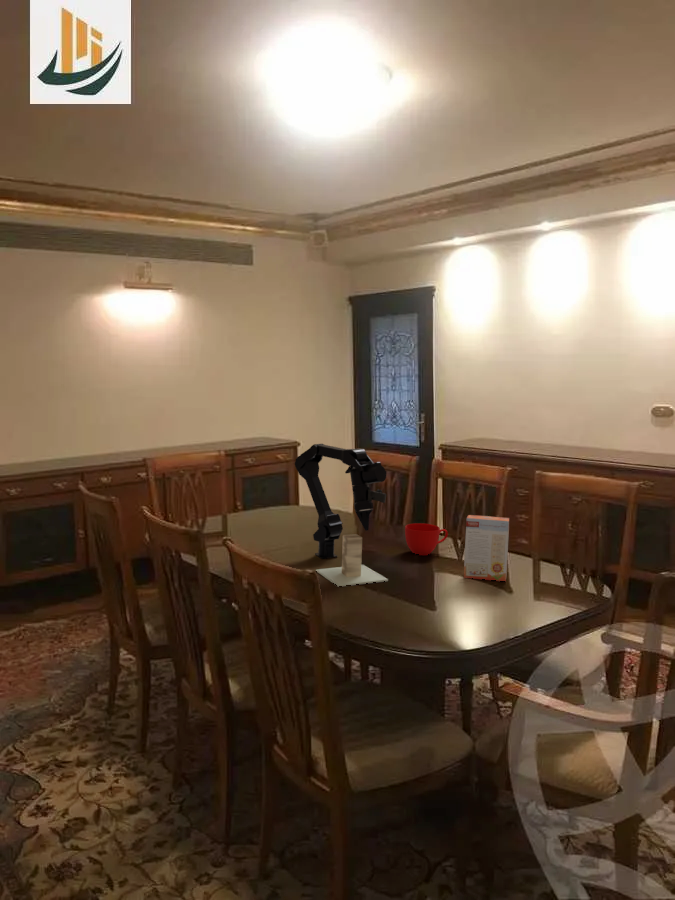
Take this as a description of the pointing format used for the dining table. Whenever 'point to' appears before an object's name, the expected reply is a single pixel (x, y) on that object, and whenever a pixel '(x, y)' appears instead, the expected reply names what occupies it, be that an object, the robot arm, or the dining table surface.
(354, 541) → the birch block
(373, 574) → the sage mat
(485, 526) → the cracker box
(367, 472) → the robot arm
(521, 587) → the dining table surface
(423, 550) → the ceramic cup
